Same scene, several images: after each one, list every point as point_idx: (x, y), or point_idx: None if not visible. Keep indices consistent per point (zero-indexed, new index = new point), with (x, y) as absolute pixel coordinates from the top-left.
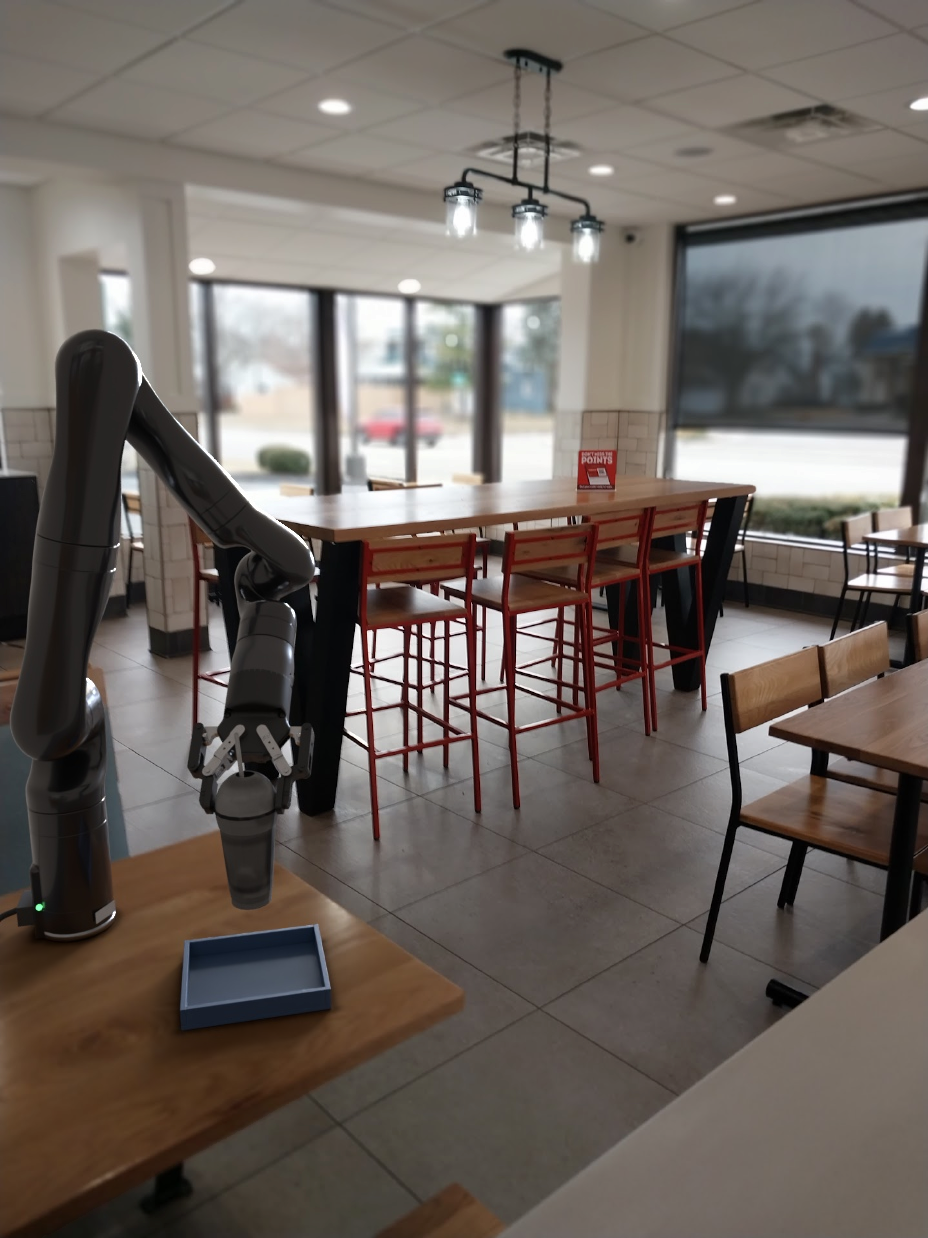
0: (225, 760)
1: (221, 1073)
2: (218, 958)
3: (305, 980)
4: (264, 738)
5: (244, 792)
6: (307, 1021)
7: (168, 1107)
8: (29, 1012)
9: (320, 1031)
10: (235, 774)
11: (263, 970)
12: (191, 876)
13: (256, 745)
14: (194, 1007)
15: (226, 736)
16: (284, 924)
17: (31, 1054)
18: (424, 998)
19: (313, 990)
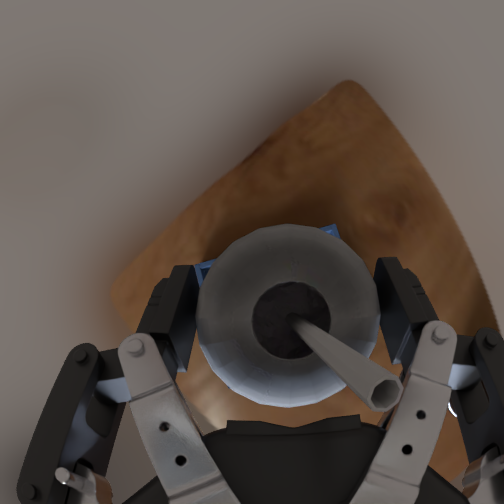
0: None
1: (278, 179)
2: None
3: None
4: (206, 483)
5: (273, 237)
6: (219, 248)
7: (306, 145)
8: (458, 249)
9: (205, 235)
10: (330, 314)
11: None
12: None
13: (262, 468)
14: (323, 228)
15: (428, 490)
16: (276, 415)
17: (431, 198)
18: (124, 285)
19: (210, 261)
